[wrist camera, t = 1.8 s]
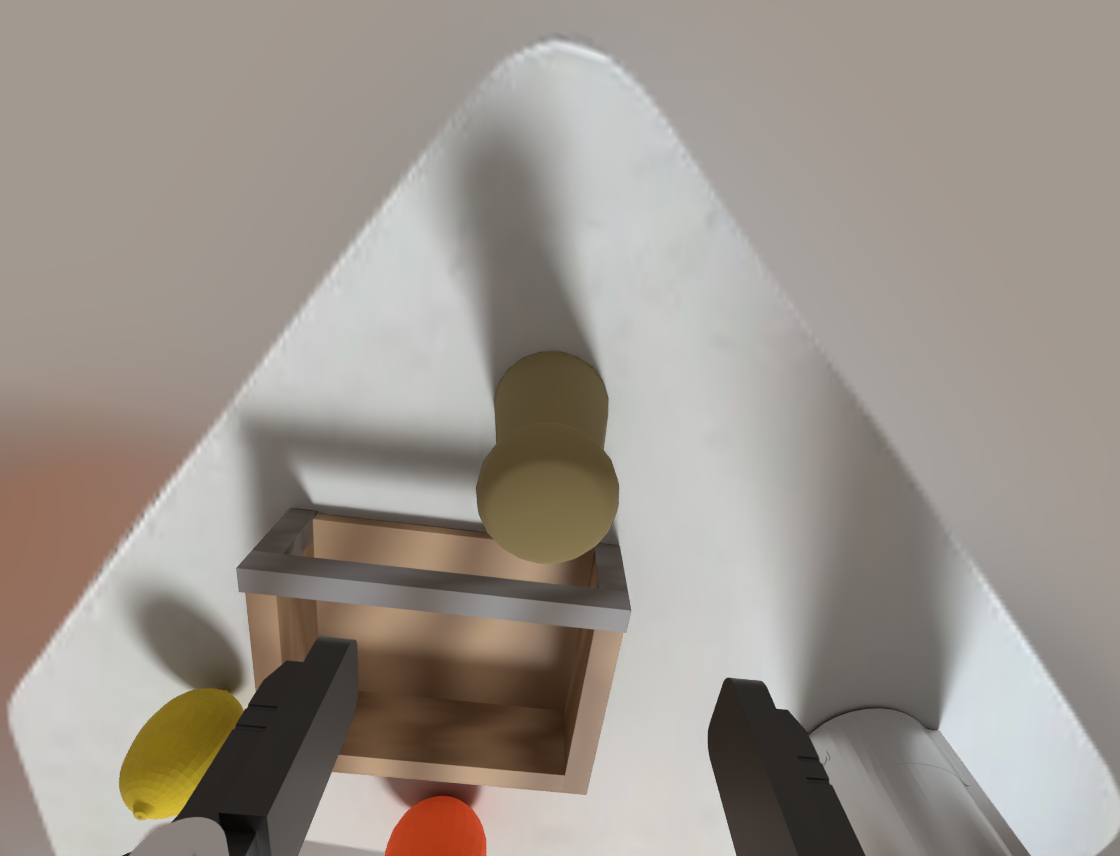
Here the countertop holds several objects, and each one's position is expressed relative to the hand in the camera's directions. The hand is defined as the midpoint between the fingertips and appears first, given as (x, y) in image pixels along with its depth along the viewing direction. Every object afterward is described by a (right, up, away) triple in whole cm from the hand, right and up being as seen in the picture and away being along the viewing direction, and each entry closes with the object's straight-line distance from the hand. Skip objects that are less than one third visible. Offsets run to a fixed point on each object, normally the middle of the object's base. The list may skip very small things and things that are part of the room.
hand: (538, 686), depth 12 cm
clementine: (-8, -23, +29) cm, 38 cm away
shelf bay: (-6, -6, +22) cm, 24 cm away
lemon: (-22, -12, +24) cm, 35 cm away
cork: (0, +7, +17) cm, 18 cm away
